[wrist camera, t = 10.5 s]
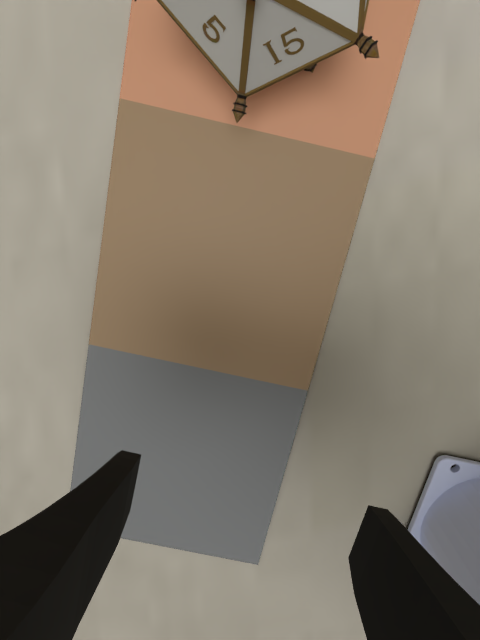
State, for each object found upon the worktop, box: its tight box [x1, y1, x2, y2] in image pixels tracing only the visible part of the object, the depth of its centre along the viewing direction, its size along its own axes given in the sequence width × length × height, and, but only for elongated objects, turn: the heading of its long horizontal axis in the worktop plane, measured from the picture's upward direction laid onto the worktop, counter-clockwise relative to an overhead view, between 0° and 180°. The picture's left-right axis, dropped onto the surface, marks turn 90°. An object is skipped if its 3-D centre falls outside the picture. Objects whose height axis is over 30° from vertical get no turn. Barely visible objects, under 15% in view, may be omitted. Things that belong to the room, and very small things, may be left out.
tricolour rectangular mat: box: [70, 0, 420, 565], centre depth 19 cm, size 12×36×1 cm, turn 168°
